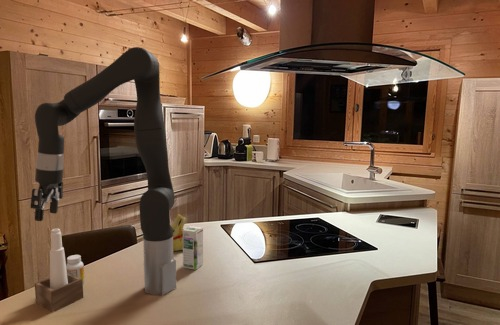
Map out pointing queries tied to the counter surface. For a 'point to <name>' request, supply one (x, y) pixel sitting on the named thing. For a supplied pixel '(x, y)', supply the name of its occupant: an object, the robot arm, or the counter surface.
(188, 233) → the syrup box
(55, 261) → the cosmetic bottle
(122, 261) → the counter surface
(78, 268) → the supplement bottle
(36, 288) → the holder
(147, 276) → the robot arm
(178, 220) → the chocolate bunny
